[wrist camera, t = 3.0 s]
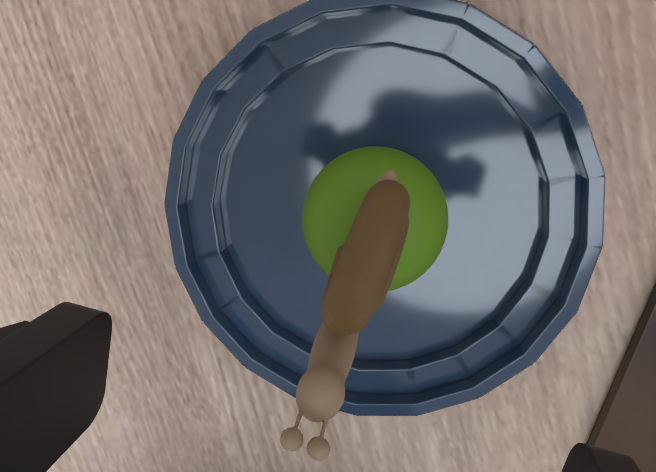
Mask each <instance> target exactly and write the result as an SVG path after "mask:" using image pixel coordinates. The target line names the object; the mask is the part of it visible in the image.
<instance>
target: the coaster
mask: <svg viewBox="0 0 656 472" xmlns="http://www.w3.org/2000/svg"><path fill="white" fill-rule="evenodd" d="M587 445H591V446H595V447H598V448H602V449H606V450H609V451H613V452H617V453H620V454H624V455H628V456H630V457H631V458H632V459H633V460H634V461H635V463H636V464H637V466H638V468H639V469H640V471H641V472H656V285H655V287H654V290H653V292H652V294H651V297H650V299H649V301H648V304H647V306H646V308H645V310H644V313H643V315H642V317H641V320H640V322H639V324H638V327H637V329H636V331H635V334H634V336H633V338H632V341H631V343H630V345H629V348H628V350H627V352H626V355H625V357H624V359H623V362H622V364H621V366H620V368H619V371H618V373H617V375H616V378H615V380H614V382H613V385H612V387H611V389H610V392H609V394H608V396H607V399H606V401H605V403H604V406H603V408H602V410H601V413H600V415H599V417H598V420H597V422H596V424H595V426H594V429H593V431H592V433H591V436H590V438H589V440H588V443H587Z"/></svg>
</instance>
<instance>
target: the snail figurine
mask: <svg viewBox="0 0 656 472" xmlns="http://www.w3.org/2000/svg"><path fill="white" fill-rule="evenodd" d="M302 228H303V234H304V238H305V242H306V245H307V247H308V250H309V252H310V254H311V255H312V257H313V259H314V260H315V262H316V263H317V264H318V266H319V267H320V268H321V269H322V270H323V271H324V272H325V273H326V274H327V275H328V276H329V278H328V281H327V285H326V288H325V292H324V295H323V299H322V303H321V310H320V312H321V317H322V320H323V321H322V324H321V326H320V328H319V330H318V332H317V335H316V337H315V340H314V343H313V346H312V349H311V353H310V357H309V362H308V368H307V371H306V372H305V373H304V375H303V376H302V377H301V379H300V381H299V383H298V386H297V390H296V402H297V405H298V408H299V414H298V417H297V420H296V423H295V426H294V427H290V428H287V429H285V430H284V431H283V432H282V434H281V437H280V442H281V445H282V446H283V448H285V449H286V450H288V451H296V450H298V449H299V448H300V447H301V446H302V443H303V435H302V433H301V432H300V430H298V429H297V427H298V425H299V422H300V419H301V417H302V415H303V416H304V417H305V418H307V419H308V420H310V421H312V422H323V425H322V430H321V434H320V437H314V438H312V439H311V440H310V441H309V443H308V445H307V452H308V455H309V456H310V457H311V458H312V459H314V460H318V461H320V460H324V459H325V458H327V456H328V455H329V452H330V446H329V443H328V441H327V440H326V439H325V438H323V435H324V432H325V428H326V424H327V421H328V420H329V419H331V418H332V417H333V416H335V415H336V414H337V413H338V411H339V410H340V408H341V407H342V404H343V402H344V398H345V380H346V378H347V375H348V373H349V371H350V368H351V365H352V362H353V359H354V356H355V352H356V348H357V342H358V335H359V331H361V330H362V329H363V328H364V327H365V326H366V325H367V323H368V322H369V320H370V318H371V316H372V315H373V314H374V313H375V312H376V311H377V310H378V309H379V308H380V306H381V305H382V303H383V301H384V299H385V297H386V294H387V292H388V291H391V290H395V289H398V288H401V287H403V286H406V285H408V284H410V283H412V282H413V281H415V280H416V279H418V278H419V277H420V276H422V275H423V274H424V273H425V272H426V271H427V270H428V269H429V268H430V267H431V266H432V265H433V263H434V262H435V260H436V259H437V257H438V256H439V254H440V252H441V250H442V248H443V245H444V243H445V239H446V235H447V231H448V208H447V203H446V199H445V196H444V193H443V190H442V188H441V186H440V184H439V182H438V181H437V179H436V178H435V176H434V175H433V174H432V173H431V171H430V170H429V169H428V168H427V167H426V166H425V165H424V164H423V163H421V162H420V161H419V160H417V159H416V158H414V157H413V156H411V155H409V154H407V153H405V152H402V151H400V150H397V149H393V148H388V147H380V146H370V147H362V148H358V149H354V150H351V151H348V152H346V153H344V154H342V155H340V156H338V157H336V158H335V159H333V160H332V161H331V162H329V163H328V164H327V165H326V166H325V167H324V168H323V169H322V170H321V171H320V172H319V173H318V175H317V176H316V177H315V179H314V180H313V182H312V184H311V185H310V187H309V189H308V192H307V194H306V197H305V201H304V205H303V211H302Z"/></svg>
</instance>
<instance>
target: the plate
mask: <svg viewBox="0 0 656 472" xmlns="http://www.w3.org/2000/svg"><path fill="white" fill-rule="evenodd" d="M370 146H380V147H388V148H393V149H397V150H400V151H402V152H405V153H407V154H409V155H411V156H413V157H414V158H416V159H417V160H419V161H420V162H421V163H423V164H424V165H425V166H426V167H427V168H428V169H429V170H430V171H431V173H432V174H433V175H434V176H435V178H436V179H437V181H438V182H439V184H440V186H441V188H442V190H443V193H444V196H445V199H446V203H447V208H448V231H447V235H446V239H445V243H444V245H443V248H442V250H441V252H440V254H439V256H438V257H437V259H436V260H435V262H434V263H433V265H432V266H431V267H430V268H429V269H428V270H427V271H426V272H425V273H424V274H423V275H422V276H420V277H419V278H418V279H416V280H415V281H413V282H412V283H410V284H408V285H406V286H403V287H401V288H398V289H395V290H391V291H388V292H387V294H386V297H385V299H384V301H383V303H382V305H381V306H380V308H379V309H378V310H377V311H376V312H375V313H374V314H373V315H372V316H371V318H370V320H369V322H368V323H367V325H366V326H365V327H364V328H363V329H362V330H361V331H359V335H358V342H357V348H356V352H355V356H354V359H353V362H352V365H351V368H350V371H349V373H348V375H347V378H346V380H345V398H344V402H343V404H342V407H341V408H340V410H339V411H342V412H346V413H349V414H353V415H355V414H356V415H357V416H418V415H422V414H425V413H429V412H432V411H436V410H439V409H443V408H446V407H450V406H453V405H457V404H460V403H464V402H467V401H471V400H474V399H478V398H479V397H482V396H483V395H485V394H487V393H488V392H490V391H491V390H493V389H494V388H496V387H497V386H499V385H501V384H502V383H504V382H505V381H507V380H508V379H510V378H512V377H513V376H515V375H516V374H518V373H519V372H521V371H523V370H524V369H526V368H527V367H529V366H530V365H532V364H533V363H534V362H536V360H537V359H538V358H539V357H540V356H541V354H542V353H543V352H544V351H545V350H546V348H547V347H548V346H549V345H550V344H551V342H552V341H553V340H554V339H555V338H556V336H557V335H558V334H559V333H560V332H561V330H562V329H563V328H564V327H565V326H566V324H567V323H568V322H569V321H570V320H571V319H572V317H573V316H574V315H575V314H576V312H577V310H578V308H579V306H580V303H581V301H582V298H583V295H584V293H585V290H586V288H587V285H588V283H589V280H590V278H591V275H592V272H593V270H594V267H595V265H596V262H597V260H598V257H599V255H600V252H601V249H602V246H603V225H604V196H605V176H604V175H605V173H604V170H603V167H602V164H601V161H600V157H599V154H598V151H597V148H596V145H595V142H594V139H593V136H592V133H591V130H590V127H589V123H588V120H587V117H586V114H585V111H584V108H583V106H582V105H581V102H580V101H579V100H578V99H577V97H576V96H575V95H574V93H573V92H572V91H571V90H570V88H569V87H568V86H567V84H566V83H565V82H564V81H563V79H562V78H561V77H560V76H559V74H558V73H557V72H556V70H555V69H554V68H553V67H552V65H551V64H550V63H549V61H548V60H547V59H546V58H545V56H544V55H543V54H542V52H541V51H540V50H539V49H538V47H537V46H535V45H534V44H533V43H532V42H531V41H529V40H527V39H526V38H524V37H523V36H521V35H519V34H518V33H516V32H515V31H513V30H511V29H510V28H508V27H507V26H505V25H503V24H502V23H500V22H499V21H497V20H495V19H494V18H492V17H490V16H489V15H487V14H486V13H484V12H482V11H481V10H479V9H478V8H476V7H474V6H473V5H471V4H469V5H468V3H466V2H462V1H457V0H309V1H307V2H305V3H303V4H301V5H299V6H297V7H295V8H293V9H291V10H289V11H287V12H285V13H283V14H281V15H279V16H277V17H275V18H273V19H271V20H269V21H267V22H265V23H263V24H261V25H259V26H257V27H255V28H253V29H252V30H251V31H250V32H249V33H248V34H247V35H246V36H245V37H244V38H243V39H242V40H241V41H240V42H239V43H238V44H237V45H236V46H235V47H234V48H233V49H232V50H231V51H230V52H229V53H228V54H227V55H226V56H225V57H224V58H223V59H222V60H221V61H220V62H219V63H218V64H217V65H216V66H215V67H214V68H213V69H212V70H211V72H210V73H209V74H208V75H207V76H206V77H205V78H204V79H203V81H201V83H200V85H199V88H198V90H197V92H196V94H195V96H194V98H193V100H192V102H191V104H190V106H189V108H188V110H187V112H186V114H185V117H184V119H183V121H182V123H181V125H180V127H179V129H178V131H177V133H176V135H175V137H174V140H173V144H172V152H171V159H170V167H169V174H168V182H167V189H166V197H165V211H166V217H167V223H168V228H169V234H170V240H171V246H172V251H173V257H174V263H175V266H176V270H177V272H178V274H179V276H180V278H181V280H182V282H183V284H184V286H185V288H186V290H187V292H188V294H189V296H190V298H191V300H192V302H193V304H194V306H195V308H196V310H197V312H198V313H199V315H200V317H201V319H202V321H204V324H205V325H206V326H207V327H208V328H209V329H210V330H211V331H212V332H213V333H214V335H215V336H216V337H217V338H218V339H219V340H220V341H221V342H222V343H223V344H224V345H225V346H226V347H227V349H228V350H229V351H230V352H231V353H232V354H233V355H234V356H235V357H236V358H237V359H238V360H239V361H240V363H241V364H242V365H243V366H245V367H246V368H247V369H249V370H251V371H252V372H254V373H255V374H257V375H259V376H260V377H262V378H264V379H265V380H267V381H269V382H270V383H272V384H274V385H275V386H277V387H278V388H280V389H282V390H283V391H285V392H287V393H288V394H290V395H292V396H293V397H295V398H296V390H297V386H298V383H299V381H300V379H301V377H302V376H303V375H304V373H305V372H306V371H307V368H308V362H309V357H310V353H311V349H312V346H313V343H314V340H315V337H316V335H317V332H318V330H319V328H320V326H321V324H322V321H323V320H322V317H321V312H320V310H321V303H322V299H323V295H324V292H325V288H326V285H327V281H328V278H329V276H328V275H327V274H326V273H325V272H324V271H323V270H322V269H321V268H320V267H319V266H318V264H317V263H316V262H315V260H314V259H313V257H312V255H311V254H310V252H309V250H308V247H307V245H306V242H305V238H304V234H303V228H302V211H303V205H304V201H305V197H306V194H307V192H308V189H309V187H310V185H311V184H312V182H313V180H314V179H315V177H316V176H317V175H318V173H319V172H320V171H321V170H322V169H323V168H324V167H325V166H326V165H327V164H328V163H329V162H331V161H332V160H333V159H335V158H336V157H338V156H340V155H342V154H344V153H346V152H348V151H351V150H354V149H358V148H362V147H370Z"/></svg>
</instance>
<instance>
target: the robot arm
mask: <svg viewBox="0 0 656 472" xmlns="http://www.w3.org/2000/svg"><path fill="white" fill-rule="evenodd" d="M111 332H112V320H111V316H110V315H109V314H108V313H106V312H103V311H99V310H96V309H92V308H88V307H85V306H81V305H77V304H73V303H70V302H63V303H61V304H59V305H57V306H55V307H54V308H52V309H51V310H49V311H47V312H46V313H44V314H42V315H41V316H39V317H37V318H36V319H34V320H32V321H31V322H28V321H23V322H19V323H16V324H13V325H9V326H6V327H2V328H0V472H46V471H47V470H48V469H49V468H50V467H51V466H52V465H53V464H54V463H55V462H56V461H57V460H58V458H59V457H60V456H61V455H62V454H63V453H64V452H65V451H66V450H67V449H68V448H69V447H70V446H71V445H72V444H73V443H74V442H75V441H76V440H77V439H78V438H79V436H80V435H81V434H82V433H83V432H84V431H85V430H86V429H87V428H88V427H89V426H90V424H91V423H92V422H93V420H94V418H95V417H96V415H97V413H98V411H99V409H100V406H101V404H102V401H103V397H104V393H105V386H106V377H107V368H108V359H109V350H110V341H111ZM562 472H641V471H640V469H639V468H638V466H637V464H636V463H635V461H634V460H633V459H632V458H631V457H630V456H628V455H624V454H620V453H617V452H613V451H609V450H606V449H602V448H598V447H595V446H591V445H587V444H584V443H578V444H576V445H575V446H574V447H573V448H572V449H571V451H570V453H569V455H568V457H567V460H566V462H565V465H564V467H563V469H562Z"/></svg>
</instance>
